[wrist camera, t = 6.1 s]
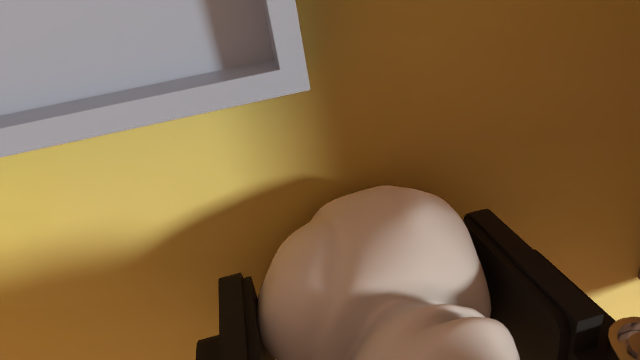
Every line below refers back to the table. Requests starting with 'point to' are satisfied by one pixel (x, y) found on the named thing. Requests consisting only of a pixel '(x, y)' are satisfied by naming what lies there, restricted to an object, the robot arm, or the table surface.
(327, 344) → the beige rounded figurine
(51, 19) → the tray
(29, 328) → the table surface
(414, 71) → the table surface
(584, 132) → the table surface
